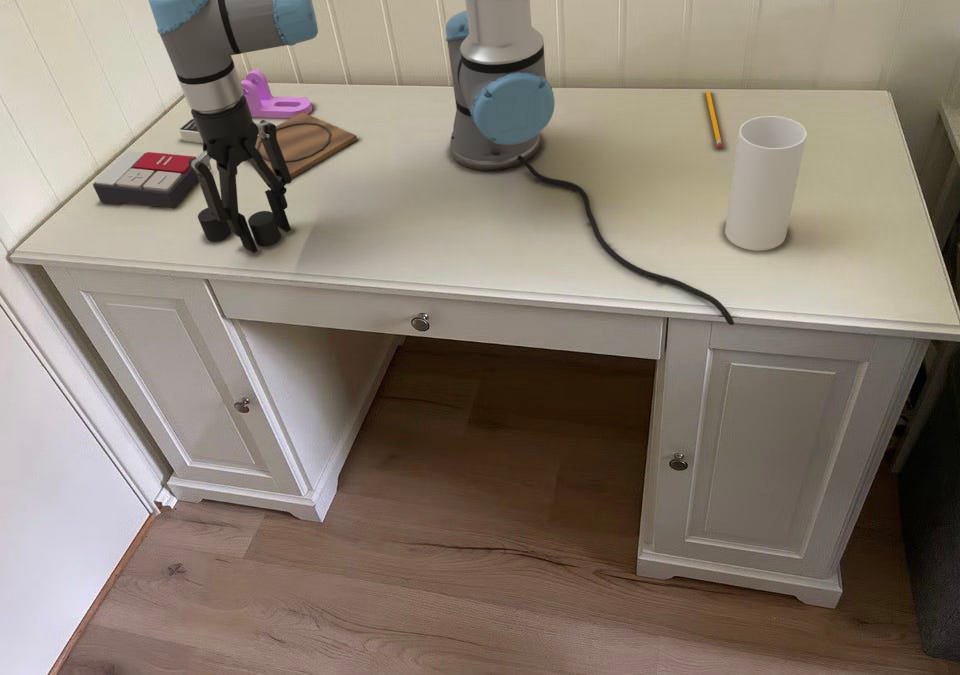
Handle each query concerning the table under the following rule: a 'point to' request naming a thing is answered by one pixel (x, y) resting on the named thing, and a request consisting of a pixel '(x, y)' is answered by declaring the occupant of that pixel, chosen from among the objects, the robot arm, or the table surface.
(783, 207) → the cup
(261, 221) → the eye puck
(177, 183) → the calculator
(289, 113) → the bracket
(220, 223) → the eye puck
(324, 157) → the board
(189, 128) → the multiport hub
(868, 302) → the table surface
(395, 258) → the table surface
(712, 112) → the pencil
